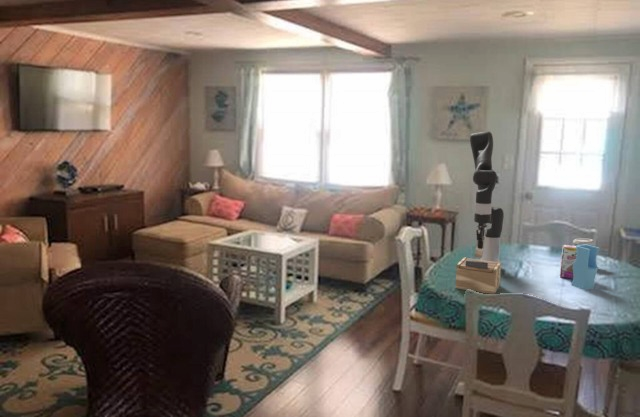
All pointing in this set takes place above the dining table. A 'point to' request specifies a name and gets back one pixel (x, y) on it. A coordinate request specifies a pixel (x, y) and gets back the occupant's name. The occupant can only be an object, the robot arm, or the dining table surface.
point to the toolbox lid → (478, 265)
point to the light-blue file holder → (585, 267)
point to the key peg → (479, 251)
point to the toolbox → (478, 279)
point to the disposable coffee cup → (583, 242)
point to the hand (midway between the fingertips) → (480, 247)
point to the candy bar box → (568, 261)
